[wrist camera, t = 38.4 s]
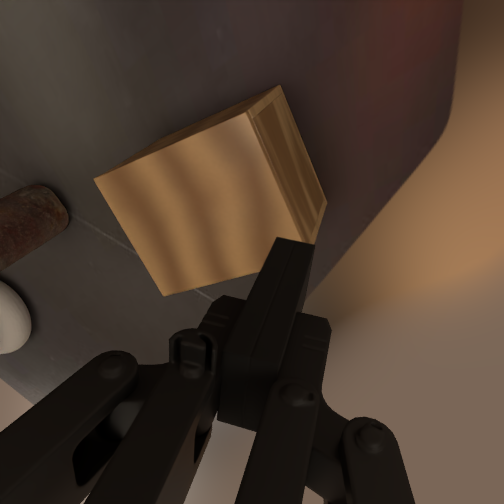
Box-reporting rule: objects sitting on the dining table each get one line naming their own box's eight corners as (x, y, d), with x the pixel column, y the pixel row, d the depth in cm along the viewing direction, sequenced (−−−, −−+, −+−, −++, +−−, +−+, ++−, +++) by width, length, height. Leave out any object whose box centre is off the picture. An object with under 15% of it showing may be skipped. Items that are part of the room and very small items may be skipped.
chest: (211, 239, 57) (172, 290, 47) (159, 139, 52) (103, 173, 42) (327, 202, 50) (311, 254, 40) (280, 84, 45) (248, 109, 35)
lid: (166, 292, 47) (163, 296, 46) (97, 176, 42) (92, 179, 42) (311, 254, 40) (309, 258, 39) (248, 109, 35) (245, 111, 35)
